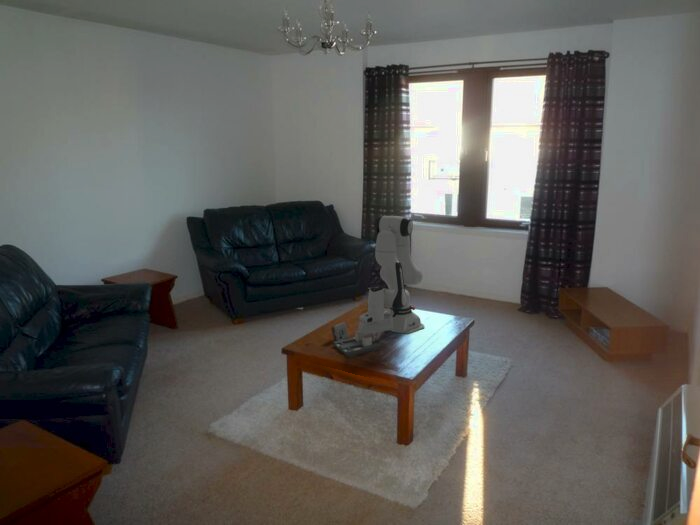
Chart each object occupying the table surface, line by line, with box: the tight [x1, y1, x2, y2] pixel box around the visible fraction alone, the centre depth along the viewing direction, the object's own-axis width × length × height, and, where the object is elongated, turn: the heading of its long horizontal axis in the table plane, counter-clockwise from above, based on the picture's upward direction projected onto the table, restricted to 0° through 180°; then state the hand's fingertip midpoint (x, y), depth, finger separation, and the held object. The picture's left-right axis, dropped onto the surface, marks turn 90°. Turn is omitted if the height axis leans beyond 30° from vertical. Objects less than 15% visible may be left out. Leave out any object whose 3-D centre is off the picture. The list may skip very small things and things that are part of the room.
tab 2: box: [362, 334, 372, 347], centre depth 277 cm, size 4×3×6 cm
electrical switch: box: [330, 321, 349, 342], centre depth 291 cm, size 9×5×9 cm, turn 141°
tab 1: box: [354, 330, 363, 341], centre depth 284 cm, size 4×3×6 cm
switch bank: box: [333, 336, 382, 357], centre depth 280 cm, size 20×16×3 cm
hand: (375, 339), depth 280 cm, fingers closed
